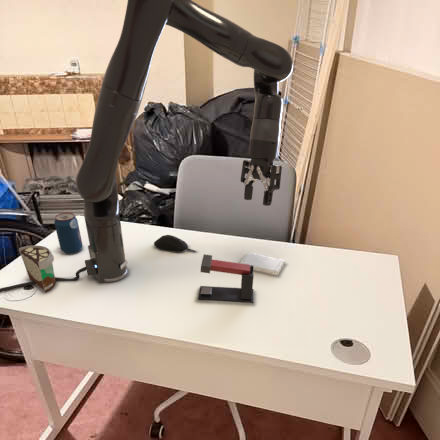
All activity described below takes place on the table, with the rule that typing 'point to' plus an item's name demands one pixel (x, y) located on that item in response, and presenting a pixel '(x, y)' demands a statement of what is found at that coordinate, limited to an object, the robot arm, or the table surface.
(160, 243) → the gaming mouse
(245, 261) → the hard drive
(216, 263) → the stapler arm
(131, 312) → the table surface
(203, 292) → the stapler base
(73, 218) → the soda can
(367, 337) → the table surface
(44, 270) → the food container
